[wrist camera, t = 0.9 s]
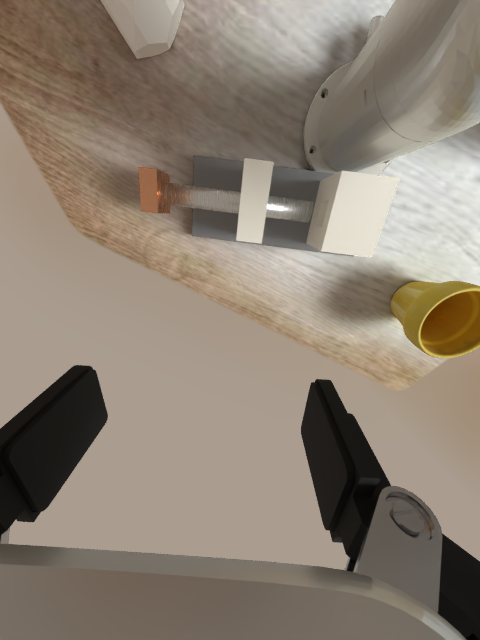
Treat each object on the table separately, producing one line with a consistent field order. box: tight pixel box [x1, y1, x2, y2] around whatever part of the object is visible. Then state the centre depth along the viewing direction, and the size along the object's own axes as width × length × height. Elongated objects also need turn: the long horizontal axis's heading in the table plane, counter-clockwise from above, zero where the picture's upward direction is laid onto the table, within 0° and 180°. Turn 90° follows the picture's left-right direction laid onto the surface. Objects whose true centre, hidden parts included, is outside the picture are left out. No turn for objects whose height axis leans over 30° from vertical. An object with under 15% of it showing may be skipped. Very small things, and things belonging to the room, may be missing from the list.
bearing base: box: [192, 155, 400, 258], centre depth 29 cm, size 24×10×10 cm, turn 83°
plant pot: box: [390, 281, 480, 358], centre depth 34 cm, size 10×10×10 cm
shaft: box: [138, 167, 313, 223], centre depth 28 cm, size 20×4×4 cm, turn 83°
